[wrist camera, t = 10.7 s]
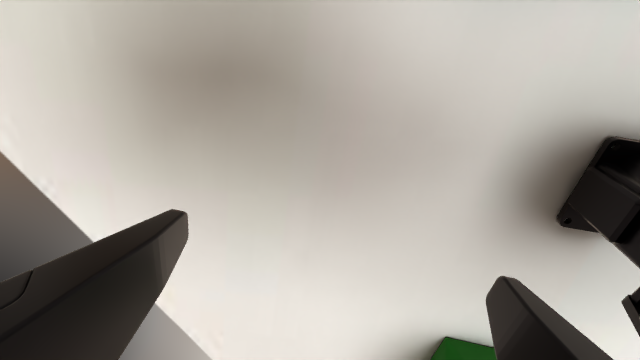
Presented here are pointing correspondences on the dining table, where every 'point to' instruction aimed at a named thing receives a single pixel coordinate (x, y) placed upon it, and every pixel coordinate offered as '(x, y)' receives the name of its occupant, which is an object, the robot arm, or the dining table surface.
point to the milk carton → (463, 351)
